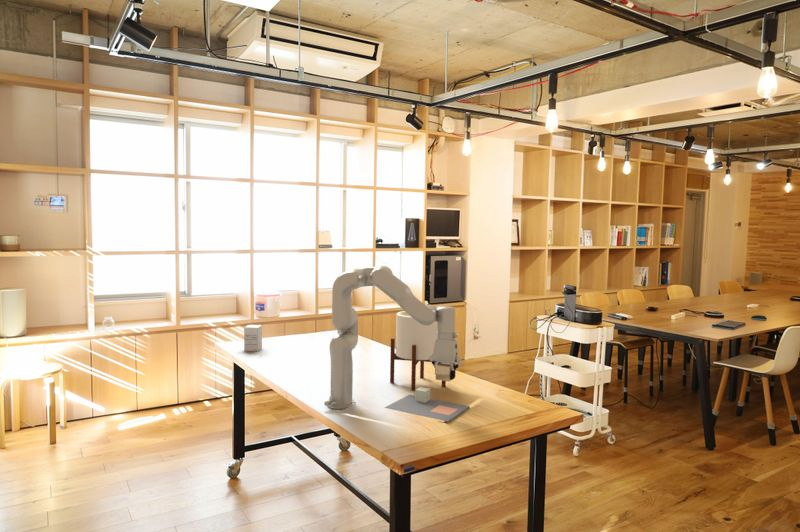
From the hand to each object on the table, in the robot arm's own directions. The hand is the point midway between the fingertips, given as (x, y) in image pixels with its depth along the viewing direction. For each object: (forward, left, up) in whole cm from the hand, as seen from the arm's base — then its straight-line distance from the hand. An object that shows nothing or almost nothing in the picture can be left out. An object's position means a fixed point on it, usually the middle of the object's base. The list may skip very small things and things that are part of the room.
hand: (445, 377), depth 230 cm
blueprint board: (0, +8, -15) cm, 17 cm away
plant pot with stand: (+30, +29, -15) cm, 44 cm away
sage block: (+7, +14, -14) cm, 21 cm away
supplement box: (+40, +152, -15) cm, 158 cm away
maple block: (0, 0, -1) cm, 1 cm away
